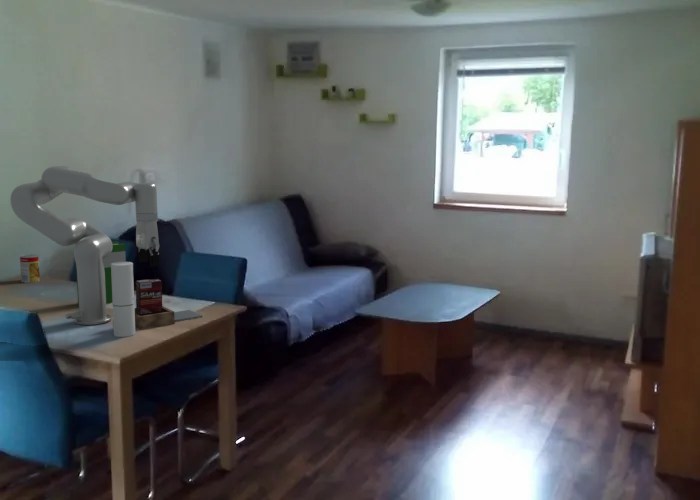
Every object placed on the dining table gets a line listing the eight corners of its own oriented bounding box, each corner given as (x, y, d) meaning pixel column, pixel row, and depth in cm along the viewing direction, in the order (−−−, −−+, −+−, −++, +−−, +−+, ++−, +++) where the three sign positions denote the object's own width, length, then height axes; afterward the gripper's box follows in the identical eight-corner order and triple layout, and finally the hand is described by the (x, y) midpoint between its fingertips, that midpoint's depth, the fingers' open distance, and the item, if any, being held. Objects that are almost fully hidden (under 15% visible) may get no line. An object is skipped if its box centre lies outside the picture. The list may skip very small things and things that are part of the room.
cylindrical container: (137, 331, 243) (135, 261, 239) (132, 336, 236) (129, 265, 232) (117, 330, 243) (114, 261, 239) (111, 336, 236) (108, 265, 232)
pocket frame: (139, 329, 245) (139, 317, 244) (125, 321, 255) (124, 309, 254) (174, 323, 253) (174, 311, 253) (159, 315, 264) (159, 304, 263)
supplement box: (140, 325, 250) (138, 283, 247) (136, 322, 254) (134, 280, 251) (163, 322, 255) (162, 280, 252) (159, 319, 259) (157, 278, 256)
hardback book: (119, 297, 292) (117, 241, 288) (127, 300, 287) (125, 243, 283) (78, 303, 281) (75, 245, 277) (84, 306, 275) (81, 247, 271)
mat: (175, 321, 256) (175, 320, 256) (163, 315, 264) (163, 313, 264) (202, 317, 263) (202, 315, 262) (189, 311, 271) (189, 309, 271)
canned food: (43, 279, 324) (41, 254, 322) (33, 283, 316) (32, 257, 315) (27, 279, 325) (26, 254, 323) (17, 282, 318) (16, 256, 316)
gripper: (127, 215, 252) (129, 261, 255) (146, 220, 239) (148, 268, 242) (147, 214, 257) (149, 259, 260) (166, 218, 243) (168, 266, 246)
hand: (149, 263), depth 251 cm, fingers open, 9 cm apart
